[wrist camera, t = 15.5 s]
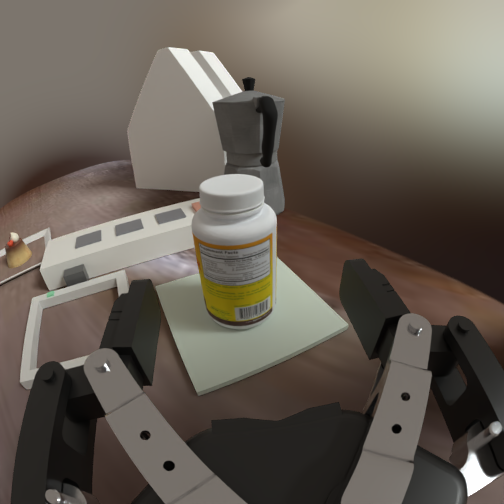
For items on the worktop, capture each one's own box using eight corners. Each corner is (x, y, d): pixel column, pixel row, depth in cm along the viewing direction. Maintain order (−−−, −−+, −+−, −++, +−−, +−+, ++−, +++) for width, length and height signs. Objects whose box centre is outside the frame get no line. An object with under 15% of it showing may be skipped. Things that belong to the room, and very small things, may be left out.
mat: (270, 255, 30) (270, 251, 30) (347, 329, 21) (348, 324, 21) (156, 290, 26) (155, 286, 25) (198, 396, 17) (196, 392, 16)
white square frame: (127, 277, 27) (124, 267, 27) (146, 358, 19) (141, 348, 18) (36, 305, 23) (31, 296, 23) (26, 389, 15) (18, 380, 14)
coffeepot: (213, 195, 45) (205, 81, 36) (270, 187, 47) (268, 78, 38) (233, 242, 33) (223, 74, 23) (310, 229, 35) (315, 75, 25)
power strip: (211, 215, 39) (208, 192, 37) (242, 249, 31) (240, 221, 30) (55, 259, 31) (47, 237, 29) (46, 307, 23) (33, 281, 22)
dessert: (-13, 298, 25) (-29, 268, 22) (-6, 260, 33) (-17, 234, 30) (57, 264, 31) (44, 232, 28) (51, 233, 39) (43, 206, 36)
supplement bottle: (228, 279, 26) (218, 167, 21) (286, 296, 24) (290, 175, 18) (192, 318, 22) (167, 193, 16) (256, 343, 20) (250, 206, 14)
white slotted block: (136, 188, 51) (120, 61, 38) (179, 165, 64) (170, 60, 50) (227, 194, 46) (217, 37, 32) (258, 168, 58) (254, 48, 44)
